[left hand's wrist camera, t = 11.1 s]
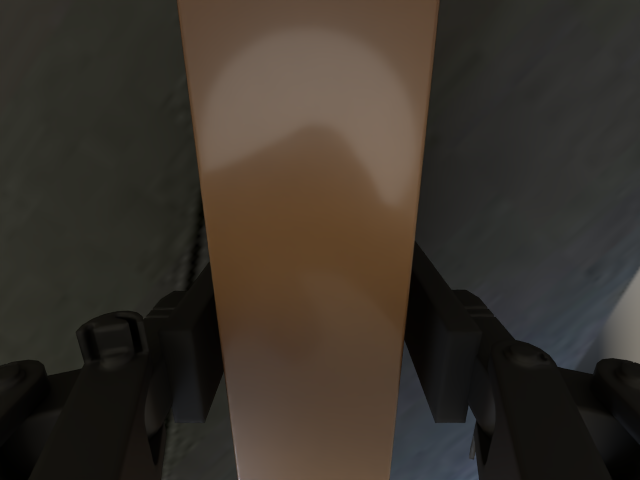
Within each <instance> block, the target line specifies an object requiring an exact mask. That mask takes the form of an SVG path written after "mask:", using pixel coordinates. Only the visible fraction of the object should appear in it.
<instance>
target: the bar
mask: <svg viewBox="0 0 640 480" xmlns="http://www.w3.org/2000/svg"><path fill="white" fill-rule="evenodd" d="M439 4H440V0H177V7H178V14H179V22H180V30H181V38H182V46H183V54H184V61H185V69H186V77H187V85H188V93H189V101H190V108H191V116H192V124H193V132H194V140H195V147H196V155H197V163H198V171H199V179H200V187H201V194H202V202H203V210H204V218H205V226H206V234H207V241H208V249H209V257H210V265H211V273H212V281H213V288H214V296H215V304H216V312H217V320H218V328H219V335H220V343H221V351H222V359H223V367H224V374H225V382H226V390H227V398H228V406H229V414H230V421H231V429H232V437H233V445H234V453H235V461H236V468H237V476H238V480H389V479H390V470H391V460H392V451H393V441H394V432H395V422H396V413H397V403H398V394H399V384H400V375H401V365H402V356H403V346H404V337H405V327H406V318H407V308H408V299H409V289H410V280H411V270H412V261H413V251H414V242H415V232H416V223H417V213H418V204H419V194H420V184H421V175H422V165H423V156H424V146H425V137H426V127H427V118H428V108H429V99H430V89H431V80H432V70H433V61H434V51H435V42H436V32H437V23H438V13H439Z"/></svg>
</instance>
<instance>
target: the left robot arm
mask: <svg viewBox="0 0 640 480" xmlns="http://www.w3.org/2000/svg"><path fill="white" fill-rule="evenodd" d="M76 335H77V339H78V342H79V345H80V349H81V352H82V356H83V359H84V363H85V364H84V366H83V368H82V369H78V370H74V371H69V372H64V373H59V374H54V375H49V376H47V373H46V370H45V367H44V365H43V364H42V363H40V362H39V361H35V360H23V361H16V362H11V363H8V364H4V365H1V366H0V480H161V475H162V467H163V459H164V451H165V443H166V429H165V424H164V420H165V418H166V416H167V414H168V412H169V410H170V408H171V406H172V410H173V416H174V421H175V423H205V420H206V418H207V415H208V412H209V410H210V407H211V404H212V402H213V399H214V396H215V394H216V391H217V388H218V385H219V383H220V380H221V377H222V375H223V372H224V367H223V359H222V351H221V343H220V335H219V328H218V320H217V312H216V304H215V296H214V288H213V281H212V273H211V265H210V262H209V263H208V264H207V266H206V267H205V268H204V270H203V271H202V272H201V274H200V275H199V276H198V278H197V279H196V281H195V282H194V283H193V285H192V286H191V287H190V289H189V290H188V291H173V292H172V293H170V294H169V295H167V296H165V297H164V298H162V299H161V300H160V301H159V302H158V303H157V304H156V306H155V307H154V308H153V310H151V311H150V313H149V314H148V315H147V316H146V318H144V320H143V317H142V316H141V315H140V314H139V313H137V312H132V311H117V312H112V313H108V314H104V315H101V316H99V317H96V318H94V319H91V320H90V321H88V322H87V323H85V324H83V325H82V326H81V327H80V328H79V329H78V330H77V331H76ZM404 340H405V342H406V345H407V348H408V350H409V353H410V356H411V359H412V361H413V364H414V367H415V369H416V372H417V375H418V377H419V380H420V383H421V385H422V388H423V391H424V394H425V396H426V399H427V402H428V404H429V407H430V410H431V412H432V415H433V418H434V420H435V423H465V421H466V416H467V410H468V405H469V406H470V408H471V410H472V412H473V414H474V416H475V418H476V424H475V429H474V434H473V439H472V443H471V448H470V454H469V458H470V459H474V456H475V452H476V458H477V466H478V474H479V480H640V364H638V363H633V362H632V361H628V360H621V359H614V358H610V359H602V360H601V361H599V362H598V363H597V365H596V367H595V370H594V373H593V374H589V373H584V372H579V371H574V370H569V369H564V368H560V367H557V365H556V363H555V362H554V360H553V359H552V358H551V357H550V355H548V354H547V353H546V352H544V351H543V350H541V349H540V348H538V347H536V346H533V345H531V344H529V343H526V342H522V341H518V340H515V339H514V338H513V337H512V336H511V334H510V333H509V332H508V331H507V330H506V329H505V327H504V326H503V325H502V324H501V323H500V322H499V320H498V319H497V318H496V317H494V315H493V313H492V312H491V311H490V310H489V309H487V306H486V305H485V304H484V303H483V302H482V301H481V299H480V298H479V297H477V296H475V295H474V294H472V293H470V292H469V291H467V290H451V289H450V287H449V286H448V285H447V283H446V282H445V281H444V279H443V278H442V276H441V275H440V274H439V272H438V271H437V270H436V268H435V267H434V266H433V264H432V263H431V262H430V260H429V259H428V258H427V256H426V255H425V254H424V252H423V251H422V249H421V248H420V247H419V245H418V244H417V243H416V241H415V242H414V251H413V261H412V270H411V280H410V289H409V299H408V308H407V318H406V327H405V337H404Z"/></svg>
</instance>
